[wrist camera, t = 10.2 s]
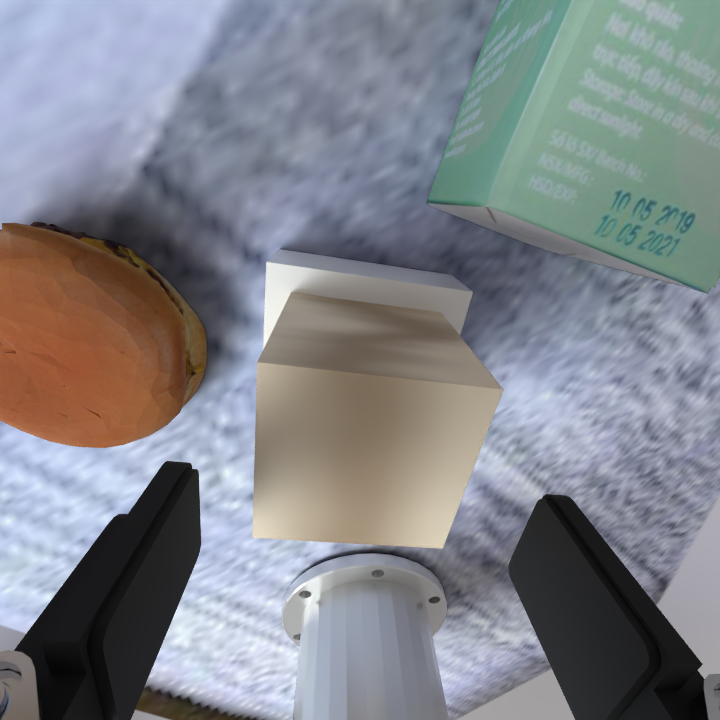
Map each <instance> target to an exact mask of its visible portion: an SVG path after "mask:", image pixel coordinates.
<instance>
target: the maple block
mask: <svg viewBox="0 0 720 720" xmlns="http://www.w3.org/2000/svg"><path fill="white" fill-rule="evenodd" d="M502 392H503V388H502V387H501V386H500V385H499V383H498V382H497V381H496V380H495V378H494V377H493V376H492V375H491V373H490V372H489V371H488V370H487V368H486V367H485V366H484V365H483V363H482V362H481V361H480V360H479V359H478V357H477V356H476V355H475V354H474V352H473V351H472V350H471V349H470V347H469V346H468V345H467V344H466V342H465V341H464V340H463V339H462V337H461V336H460V335H459V334H458V332H457V331H456V330H455V329H454V327H453V326H452V325H451V324H450V322H449V321H448V320H447V319H446V317H445V316H444V315H443V314H442V312H434V311H427V310H420V309H412V308H405V307H397V306H390V305H382V304H375V303H367V302H360V301H352V300H345V299H337V298H330V297H323V296H315V295H308V294H300V293H293V292H291V293H290V295H289V297H288V300H287V302H286V304H285V306H284V308H283V310H282V312H281V314H280V316H279V318H278V320H277V322H276V324H275V327H274V329H273V331H272V333H271V335H270V337H269V339H268V341H267V343H266V345H265V347H264V349H263V351H262V354H261V356H260V358H259V360H258V362H257V391H256V428H255V465H254V502H253V538H268V539H286V540H303V541H320V542H337V543H355V544H372V545H389V546H407V547H424V548H441V549H443V546H444V544H445V541H446V538H447V536H448V533H449V531H450V528H451V525H452V523H453V520H454V518H455V515H456V512H457V510H458V507H459V505H460V502H461V499H462V497H463V494H464V491H465V489H466V486H467V484H468V481H469V478H470V476H471V473H472V471H473V468H474V465H475V463H476V460H477V458H478V455H479V452H480V450H481V447H482V445H483V442H484V439H485V437H486V434H487V431H488V429H489V426H490V424H491V421H492V418H493V416H494V413H495V411H496V408H497V405H498V403H499V400H500V398H501V395H502Z"/></svg>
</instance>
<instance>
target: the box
mask: <svg viewBox="0 0 720 720" xmlns="http://www.w3.org/2000/svg"><path fill="white" fill-rule="evenodd" d="M426 204H427V205H429V206H432V207H434V208H437V209H439V210H442V211H444V212H447V213H449V214H452V215H455V216H457V217H460V218H462V219H465V220H467V221H470V222H472V223H475V224H478V225H480V226H483V227H485V228H488V229H490V230H493V231H495V232H498V233H501V234H503V235H506V236H508V237H511V238H513V239H516V240H519V241H521V242H524V243H527V244H529V245H532V246H535V247H538V248H541V249H544V250H547V251H550V252H554V253H558V254H562V255H567V256H570V257H574V258H577V259H581V260H585V261H589V262H593V263H596V264H600V265H604V266H608V267H611V268H615V269H619V270H623V271H627V272H630V273H634V274H638V275H642V276H646V277H649V278H653V279H657V280H661V281H664V282H668V283H672V284H676V285H680V286H684V287H687V288H691V289H694V290H697V291H701V292H704V293H707V294H708V292H709V291H710V290H711V288H713V287H715V285H716V283H717V281H718V279H719V277H720V0H500V1H499V4H498V7H497V9H496V12H495V15H494V17H493V20H492V23H491V25H490V28H489V31H488V33H487V36H486V39H485V41H484V44H483V46H482V49H481V52H480V54H479V57H478V60H477V62H476V65H475V68H474V70H473V73H472V76H471V79H470V81H469V84H468V87H467V90H466V93H465V95H464V98H463V101H462V104H461V107H460V109H459V112H458V115H457V118H456V121H455V123H454V126H453V129H452V132H451V135H450V137H449V140H448V143H447V146H446V149H445V151H444V154H443V157H442V160H441V162H440V165H439V168H438V171H437V174H436V176H435V179H434V182H433V185H432V188H431V191H430V194H429V197H428V200H427V203H426Z"/></svg>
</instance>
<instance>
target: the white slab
mask: <svg viewBox="0 0 720 720" xmlns="http://www.w3.org/2000/svg"><path fill="white" fill-rule="evenodd" d="M291 292H293V293H300V294H308V295H315V296H323V297H330V298H337V299H345V300H352V301H360V302H367V303H375V304H382V305H390V306H397V307H405V308H412V309H420V310H427V311H434V312H442V314H443V315H444V316H445V317H446V319H447V320H448V321H449V322H450V324H451V325H452V326H453V327H454V329H455V330H456V331H457V332H458V334H459V335H461V331H462V328H463V325H464V321H465V318H466V315H467V311H468V308H469V305H470V301H471V298H472V295H473V291H471V290H470V289H469V288H468V287H466V286H465V285H464V284H463V283H461V282H460V281H459V280H458V279H456V278H455V277H454V276H452V275H449V274H442V273H436V272H429V271H422V270H415V269H409V268H402V267H395V266H389V265H382V264H375V263H369V262H362V261H355V260H349V259H342V258H335V257H329V256H322V255H315V254H309V253H302V252H295V251H289V250H282V249H279V250H278V251H277V252H276V253H275V254H274V255H273V256H272V257H271V258H270V259H269V260H268V261H267V262H266V287H265V314H264V340H263V349H264V347H265V345H266V343H267V341H268V339H269V337H270V335H271V333H272V331H273V329H274V327H275V324H276V322H277V320H278V318H279V316H280V314H281V312H282V310H283V308H284V306H285V304H286V302H287V300H288V297H289V295H290V293H291Z"/></svg>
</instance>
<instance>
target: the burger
mask: <svg viewBox="0 0 720 720" xmlns="http://www.w3.org/2000/svg"><path fill="white" fill-rule="evenodd" d="M206 365H207V342H206V332H205V329H204V327H203V325H202V323H201V321H200V320H199V318H198V316H197V315H196V314H195V313H194V311H193V310H192V309H191V307H190V306H189V305H188V304H187V302H186V301H185V300H184V299H183V297H182V296H181V295H180V294H179V293H178V292H177V291H176V290H175V288H174V287H173V286H172V285H171V284H170V283H169V282H168V281H167V280H166V279H165V278H164V277H163V276H162V275H161V274H160V273H158V272H157V271H156V270H155V269H154V268H153V267H151V266H150V265H149V264H148V263H146V262H145V261H144V260H143V259H141V258H140V257H139V256H138V255H137V254H136V253H135V252H133V251H132V250H131V249H130V248H129V247H127V246H126V245H123V244H120V243H116V242H113V241H109V240H105V239H104V240H103V239H98V238H95V237H91V236H88V235H86V234H85V233H84V232H82V233H74V232H70V231H66V230H64V229H62V228H59V227H57V226H55V225H53V224H50V225H47V224H45V223H42V222H34V223H32V224H31V225H30V226H28V225H23V224H18V223H2V230H0V421H2V422H4V423H6V424H9V425H11V426H13V427H15V428H17V429H19V430H21V431H24V432H26V433H29V434H32V435H34V436H37V437H40V438H42V439H45V440H48V441H51V442H56V443H60V444H65V445H70V446H78V447H94V448H107V447H113V446H119V445H124V444H127V443H130V442H133V441H136V440H139V439H142V438H144V437H147V436H150V435H151V434H153V433H155V432H156V431H158V430H160V429H161V428H163V427H164V426H166V425H167V424H168V423H170V422H171V421H172V420H173V419H174V418H175V417H176V416H177V415H178V414H179V413H180V411H181V409H182V407H183V406H184V405H185V404H186V403H187V402H188V401H189V400H190V399H191V398H192V396H193V395H194V394H195V393H196V391H197V390H198V388H199V386H200V383H201V381H202V379H203V377H204V373H205V368H206Z"/></svg>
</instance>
